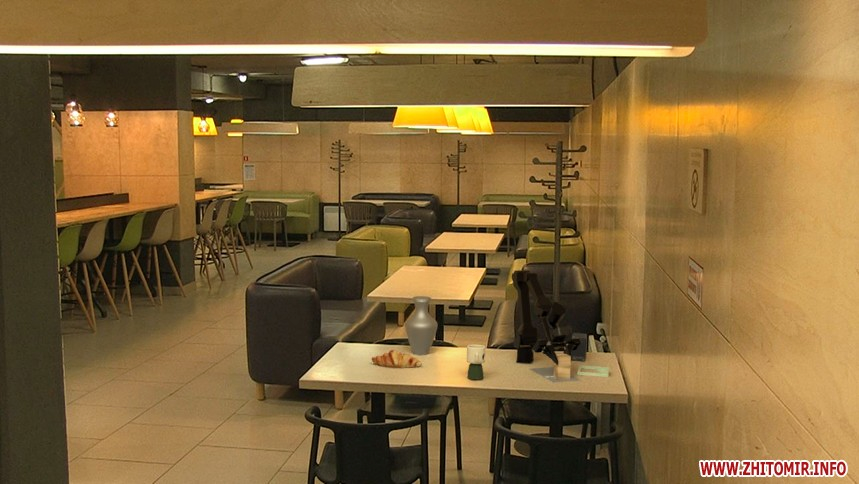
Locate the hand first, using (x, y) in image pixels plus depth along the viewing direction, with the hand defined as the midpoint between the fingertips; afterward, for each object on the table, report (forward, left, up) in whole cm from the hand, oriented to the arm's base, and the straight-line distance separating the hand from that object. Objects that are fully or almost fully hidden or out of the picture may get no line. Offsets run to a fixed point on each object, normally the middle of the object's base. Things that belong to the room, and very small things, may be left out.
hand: (563, 363), depth 326 cm
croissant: (-69, +6, -8) cm, 69 cm away
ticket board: (-4, +6, -8) cm, 11 cm away
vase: (-65, +31, -8) cm, 72 cm away
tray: (+11, +15, -8) cm, 20 cm away
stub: (-1, +1, -6) cm, 6 cm away
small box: (+3, +44, -8) cm, 45 cm away
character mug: (-34, -5, -8) cm, 35 cm away
